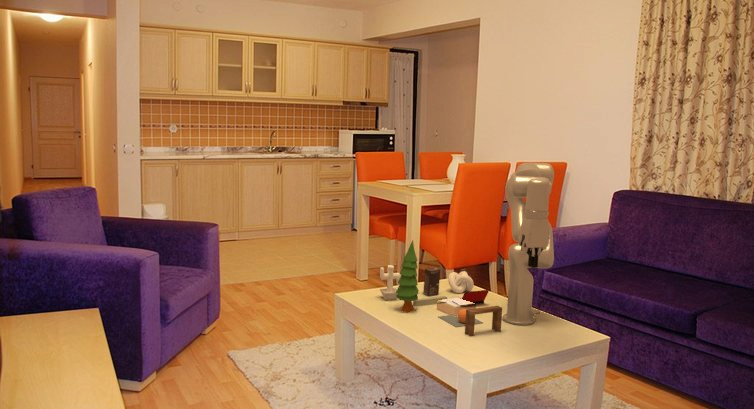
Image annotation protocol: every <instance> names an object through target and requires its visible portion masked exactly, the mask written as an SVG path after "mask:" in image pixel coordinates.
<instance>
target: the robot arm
mask: <svg viewBox="0 0 754 409" xmlns="http://www.w3.org/2000/svg"><path fill="white" fill-rule="evenodd" d="M554 179H555V170H554V168H553V166H552V164H550V163H548V162H547V163H546V162H523V163H521V164H519V165H518V166H517V167H516V170H515V171H514V172H513V173H512V174H511V175H510V177H509V179H507V181H506V183H505V196H506V197H505V198H506V200H507V204H508V206H509V209H510V214H511V216H510V217H511V237H512V239H513V241H514V242H516V243H513V244H511V245H510V246H509V247H508V252H507V253H508V255H507V256H508V266H509V267H508V268H509V269H508V270H509V274H508V289H507V303H506V304H507V306H506V313H505V314H502V320H503V321H504V322H506V323H508V324H511V325H517V326H529V325H530V326H531V325H534V323H535V320H536V319H535V318H534V316H535V315H540V314H541V310H540V309H533V294H534V293H533V292H534V276H533V275H532V273H531V272H530V270H529V269H550V268H552V267H553V265H554V262H555V249H554V237H553V236H554V233H553V228H552V224H551V223H550V221H549V218H548V216H549V215H550V211H549V199H550V195H551V194H552V188H553V187H552V186H553V184H554ZM524 199H525V200H526V201H525V200H524Z"/></svg>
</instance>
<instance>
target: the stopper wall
mask: <svg viewBox="0 0 754 409" xmlns="http://www.w3.org/2000/svg"><path fill="white" fill-rule="evenodd" d="M442 299H447V300H448V297H447V296H446V295H441V296H439V295H438V296H434V297H432V296H430V297H425V298H424V297H423V298H418V300H415V301H412V304H413V307H414V308H415V307H423V306H424V307H425V306H430V305H437V304H436V303H437V301H438V300H442Z"/></svg>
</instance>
